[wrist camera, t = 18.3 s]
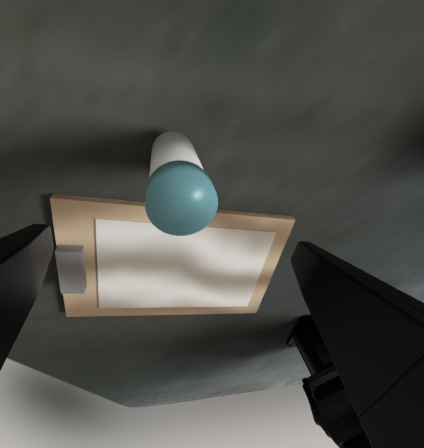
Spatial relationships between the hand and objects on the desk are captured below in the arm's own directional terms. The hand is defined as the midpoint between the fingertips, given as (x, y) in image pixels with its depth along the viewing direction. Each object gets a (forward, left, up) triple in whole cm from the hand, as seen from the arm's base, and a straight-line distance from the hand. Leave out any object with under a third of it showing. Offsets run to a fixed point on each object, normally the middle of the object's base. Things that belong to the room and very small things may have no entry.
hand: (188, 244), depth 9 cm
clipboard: (-12, -2, -13) cm, 18 cm away
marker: (0, 0, -13) cm, 13 cm away
